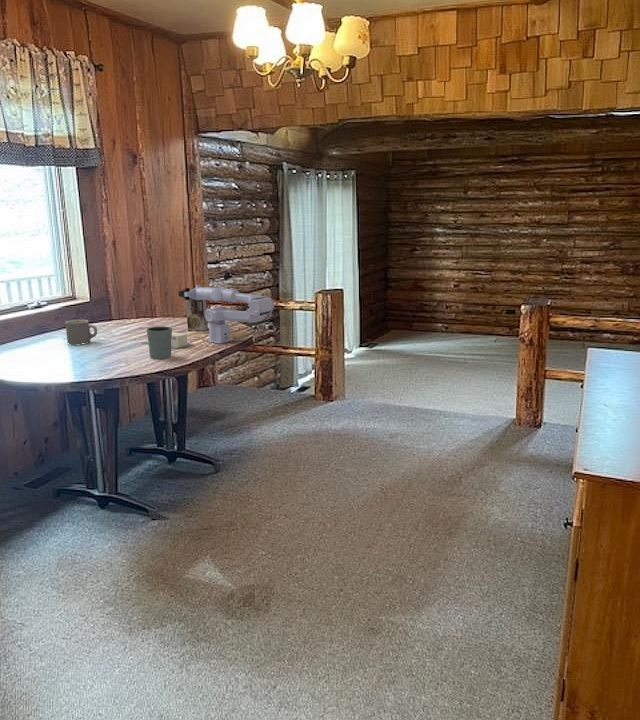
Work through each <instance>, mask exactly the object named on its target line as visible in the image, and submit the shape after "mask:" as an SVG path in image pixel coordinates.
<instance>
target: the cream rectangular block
mask: <svg viewBox="0 0 640 720" xmlns="http://www.w3.org/2000/svg"><path fill="white" fill-rule="evenodd" d="M187 343H188V336H187V334H186V333H181V332H174V331H172V339H171V346H174V347H182V346H187Z"/></svg>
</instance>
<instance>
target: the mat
mask: <svg viewBox="0 0 640 720" xmlns="http://www.w3.org/2000/svg"><path fill="white" fill-rule="evenodd" d="M140 343H141V344H143V343H146V344H145V345H149V342H148V340H146V341H141V342H140ZM191 345H193V346H194V344H193V343H188V342H187V346H188V347H191ZM187 346H182V347H184V348H187ZM182 347H174V346H171V350H179V349H183V348H182ZM178 348H179V349H178Z"/></svg>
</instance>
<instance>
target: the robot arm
mask: <svg viewBox="0 0 640 720" xmlns="http://www.w3.org/2000/svg"><path fill="white" fill-rule="evenodd" d="M178 296H179V297H180V298H183V299H184V300H185V301H186V300H189V298H193V299H196V300H206V301H215V302H219V301H223V302H228V303H232V304H233V303H234V304H235V303H237V302H242V303H247V304H248V305H247V307H248V310H235V309H230V308H226V307H225V306H218V307H213V308H207V310H206V311H205V319H206V320H207V321H208V330H209V339H206V340H205V342H207V341H208V342H207V343H213V342H214V343H213V344H219V345H220V344H223V343H224V344H225V343H228V342H232V341H233V340H232V339H231V327H230V325H229V324H227V323H226V321H228V322H238V323H239V322H241V323H256V322H260V321H261V320H263V319H264V318H265V317H266V316H268V315H270V314H272V312H273V310H274V309H275V302H274V300H273V298H271V297H270V296H265V295H259V294H250V293H240V292H239V290H238V289H235V288H234V287H230V288H227V287H225V286H221V287H204V286H201V285H200V284H196V285H195V288H193V289H191V288H190V287H185V288H184V289H183V290H179V291H178Z"/></svg>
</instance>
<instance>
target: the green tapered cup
mask: <svg viewBox="0 0 640 720" xmlns="http://www.w3.org/2000/svg"><path fill="white" fill-rule="evenodd" d="M172 332H173V327H170V326H162V325H161V326H151V327H148V328H147V329H146V333H147V341H148V342H149V344H148V348H149V350H148V352H149V358H150V359H152V358H153V360H165V359H164V358H166V359H169V357H170V358H172V349H171V339H172Z"/></svg>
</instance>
